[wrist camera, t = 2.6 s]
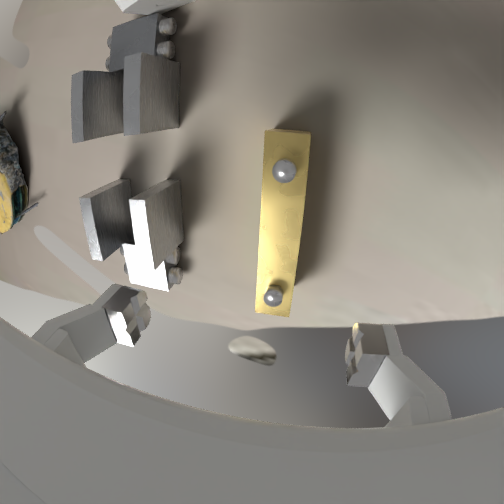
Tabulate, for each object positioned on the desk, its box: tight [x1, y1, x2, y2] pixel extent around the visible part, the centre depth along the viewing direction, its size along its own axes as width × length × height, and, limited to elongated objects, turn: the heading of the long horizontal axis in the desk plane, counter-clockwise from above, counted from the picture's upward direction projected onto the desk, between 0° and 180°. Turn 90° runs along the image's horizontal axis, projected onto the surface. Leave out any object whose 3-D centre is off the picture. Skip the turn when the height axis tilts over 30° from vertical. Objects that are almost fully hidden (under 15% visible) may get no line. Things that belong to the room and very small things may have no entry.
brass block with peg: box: [255, 129, 311, 317], centre depth 17 cm, size 2×12×5 cm, turn 178°
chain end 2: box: [79, 179, 184, 291], centre depth 20 cm, size 6×9×5 cm, turn 178°
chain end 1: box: [71, 13, 180, 143], centre depth 14 cm, size 6×9×5 cm, turn 178°
